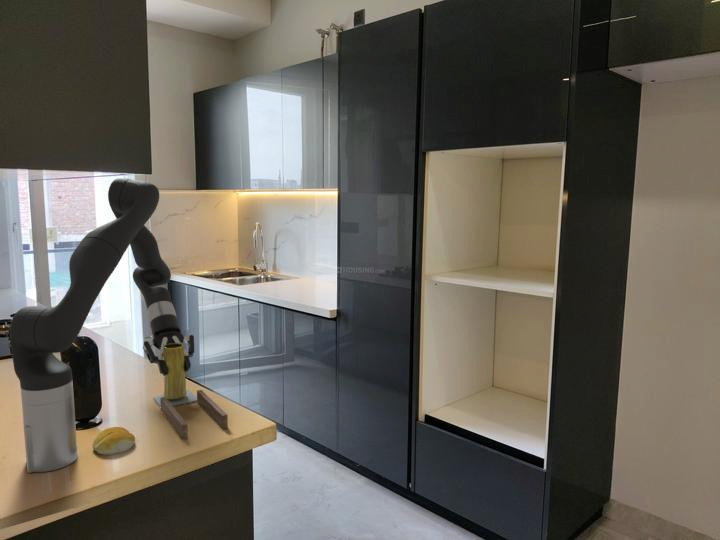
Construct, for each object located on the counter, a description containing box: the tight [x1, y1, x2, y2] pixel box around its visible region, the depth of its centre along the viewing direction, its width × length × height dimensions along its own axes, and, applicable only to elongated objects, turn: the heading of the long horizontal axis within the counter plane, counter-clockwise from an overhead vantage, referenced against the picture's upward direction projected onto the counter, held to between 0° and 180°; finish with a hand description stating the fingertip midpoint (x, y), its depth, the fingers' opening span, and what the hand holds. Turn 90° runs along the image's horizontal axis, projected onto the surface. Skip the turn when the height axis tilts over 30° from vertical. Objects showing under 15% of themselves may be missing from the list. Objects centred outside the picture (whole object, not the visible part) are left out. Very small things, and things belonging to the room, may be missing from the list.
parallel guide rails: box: [160, 389, 229, 440], centre depth 131 cm, size 11×20×4 cm, turn 35°
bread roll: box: [92, 426, 136, 456], centre depth 116 cm, size 8×9×4 cm
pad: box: [152, 389, 197, 408], centre depth 143 cm, size 10×9×1 cm
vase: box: [163, 342, 187, 399], centre depth 142 cm, size 6×6×14 cm
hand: (176, 371), depth 141 cm, fingers closed on vase, 5 cm apart
